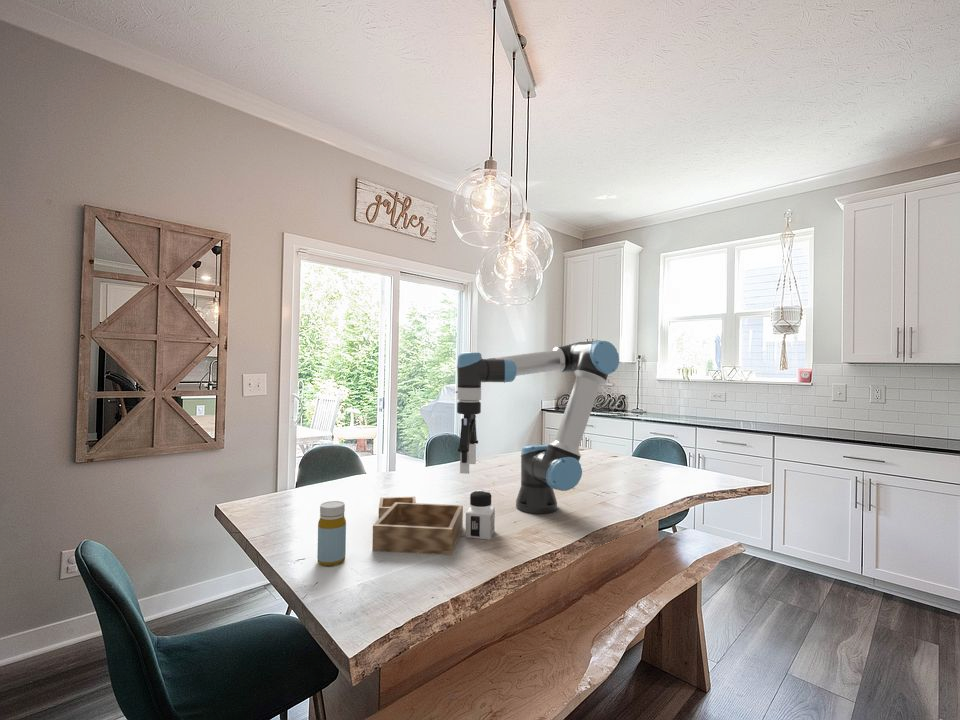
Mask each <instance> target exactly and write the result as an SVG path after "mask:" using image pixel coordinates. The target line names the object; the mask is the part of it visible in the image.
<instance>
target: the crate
mask: <svg viewBox="0 0 960 720" xmlns="http://www.w3.org/2000/svg"><path fill="white" fill-rule="evenodd" d="M397 507H401V522H397ZM463 508H464V505H463V504H441V503H423V502H422V503H421V502H416V503H400V502H395V503H394V504H393V505H392V506H391V507H390V508H389V509H388V510H387V511H386V512H385V513H384V514H383V515H382V517H381V518H380V519H379V518H378V519H379V520H377V521H375V523H374V524H373V525H372V545H371V546H372V552H376V551H377V552H390V553H408V554H409V553H410V554H411V553H412V554H423V555H424V554H427V555H428V554H429V555H443V556H444V555H447V556H452V555H453V552H454V550H455V547H456V544H457V542H458V540H459V538H460V535H461V532H462V529H463V525H464V524H463V521H464V520H463V519H464V517H463V516H464V513H463V512H464V509H463Z"/></svg>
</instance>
